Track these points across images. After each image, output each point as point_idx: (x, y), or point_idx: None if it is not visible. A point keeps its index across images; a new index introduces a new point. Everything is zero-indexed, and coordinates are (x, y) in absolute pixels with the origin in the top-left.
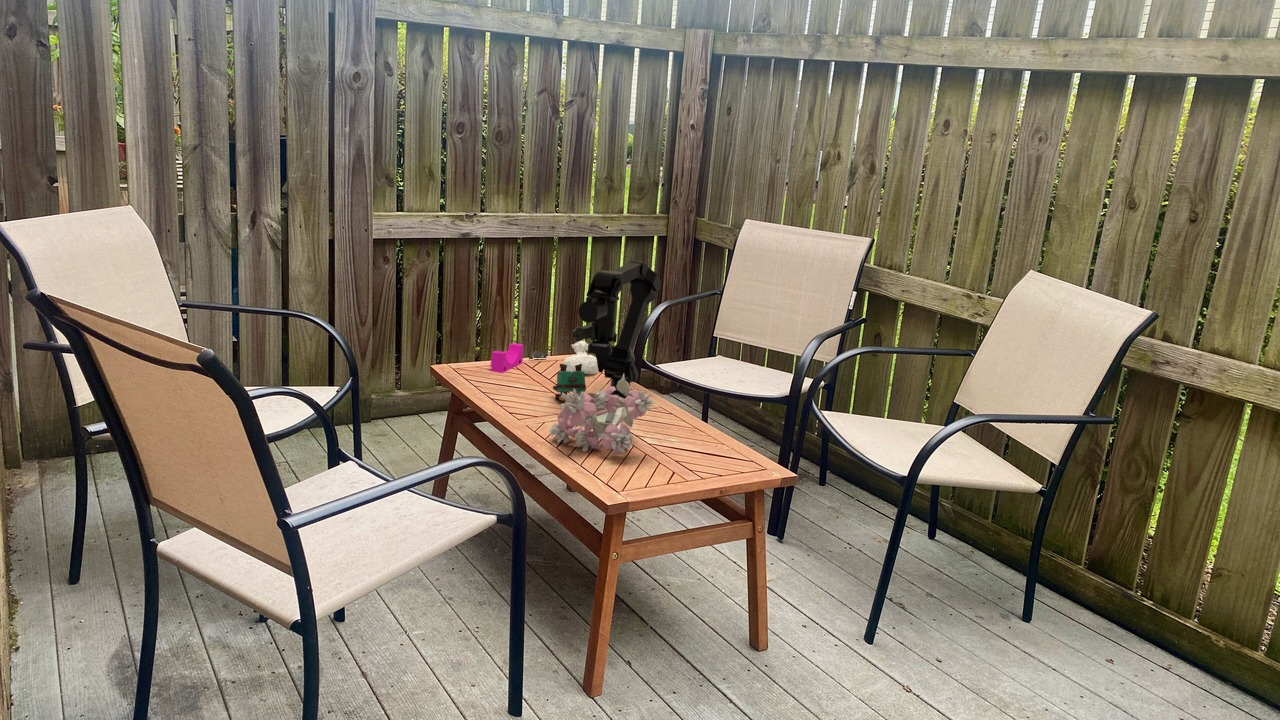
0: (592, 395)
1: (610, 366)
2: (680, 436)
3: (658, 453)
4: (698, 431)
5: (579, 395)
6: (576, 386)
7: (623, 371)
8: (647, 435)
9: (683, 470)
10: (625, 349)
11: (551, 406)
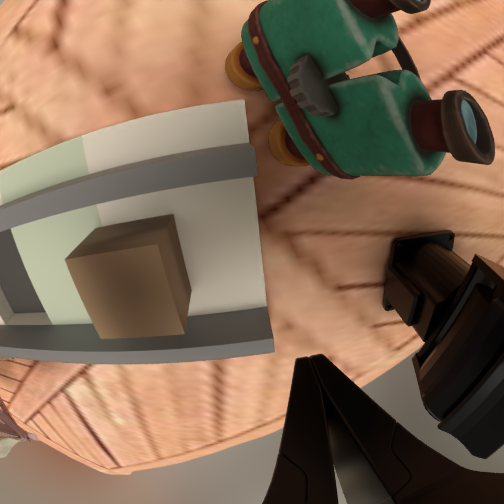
0: (122, 279)
1: (474, 336)
2: (148, 428)
3: (39, 397)
4: (202, 443)
5: (150, 184)
6: (297, 123)
7: (422, 386)
8: (103, 389)
9: (22, 412)
10: (494, 450)
11: (215, 29)
